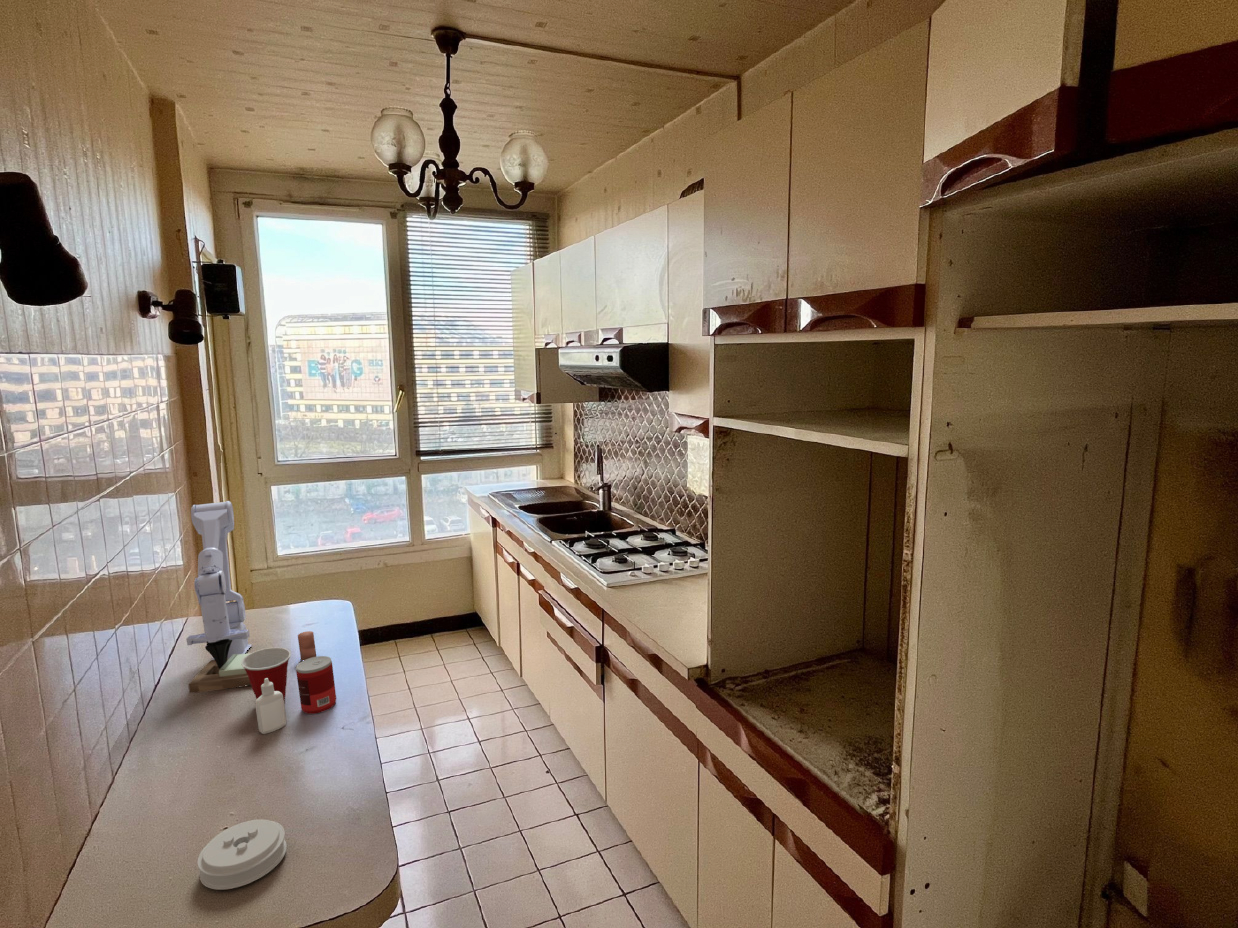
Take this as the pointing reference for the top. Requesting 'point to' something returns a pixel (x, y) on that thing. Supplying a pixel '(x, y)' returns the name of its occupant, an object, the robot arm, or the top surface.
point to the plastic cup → (267, 668)
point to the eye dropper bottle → (270, 709)
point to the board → (216, 679)
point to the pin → (306, 645)
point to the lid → (242, 854)
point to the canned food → (316, 684)
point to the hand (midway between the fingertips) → (222, 666)
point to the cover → (233, 666)
